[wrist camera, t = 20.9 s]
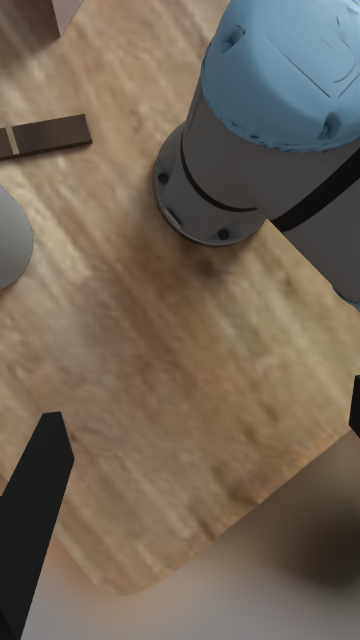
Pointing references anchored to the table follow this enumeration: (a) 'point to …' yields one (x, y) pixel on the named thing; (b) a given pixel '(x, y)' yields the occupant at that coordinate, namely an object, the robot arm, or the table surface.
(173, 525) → the table surface
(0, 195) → the cylinder vase
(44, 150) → the ruler
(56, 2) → the greeting card
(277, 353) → the table surface
